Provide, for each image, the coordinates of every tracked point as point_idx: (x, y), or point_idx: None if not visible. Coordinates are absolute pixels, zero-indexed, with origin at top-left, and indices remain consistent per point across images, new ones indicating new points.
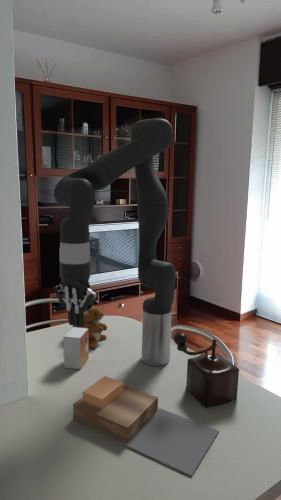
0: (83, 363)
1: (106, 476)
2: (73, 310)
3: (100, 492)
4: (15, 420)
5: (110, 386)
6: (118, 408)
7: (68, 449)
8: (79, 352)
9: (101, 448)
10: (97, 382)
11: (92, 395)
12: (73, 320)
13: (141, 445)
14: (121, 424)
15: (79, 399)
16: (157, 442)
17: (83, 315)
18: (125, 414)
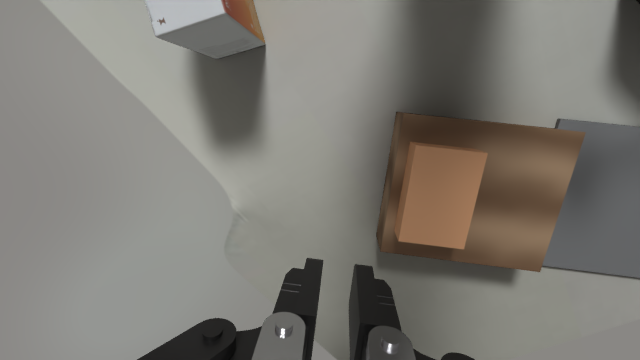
0: (255, 14)
1: (508, 328)
2: (307, 345)
3: (511, 354)
4: (275, 282)
5: (459, 188)
6: (493, 222)
7: (416, 304)
8: (245, 32)
9: (472, 281)
10: (413, 187)
11: (430, 244)
12: (318, 299)
13: (550, 251)
14: (522, 268)
15: (384, 230)
16: (582, 232)
17: (398, 321)
18: (518, 235)
